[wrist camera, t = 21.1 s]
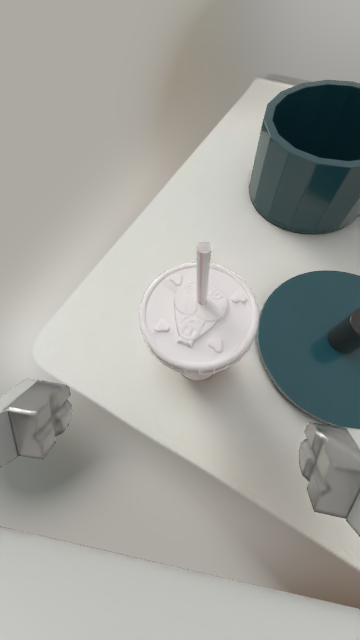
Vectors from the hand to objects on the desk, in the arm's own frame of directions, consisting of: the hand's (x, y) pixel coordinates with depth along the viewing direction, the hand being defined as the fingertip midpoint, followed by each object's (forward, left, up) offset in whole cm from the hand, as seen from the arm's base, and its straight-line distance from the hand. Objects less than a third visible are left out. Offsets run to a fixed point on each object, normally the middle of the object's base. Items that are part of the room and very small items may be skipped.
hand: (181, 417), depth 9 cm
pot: (+16, +23, -12) cm, 31 cm away
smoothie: (+1, +5, -13) cm, 14 cm away
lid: (+13, +5, -12) cm, 18 cm away
